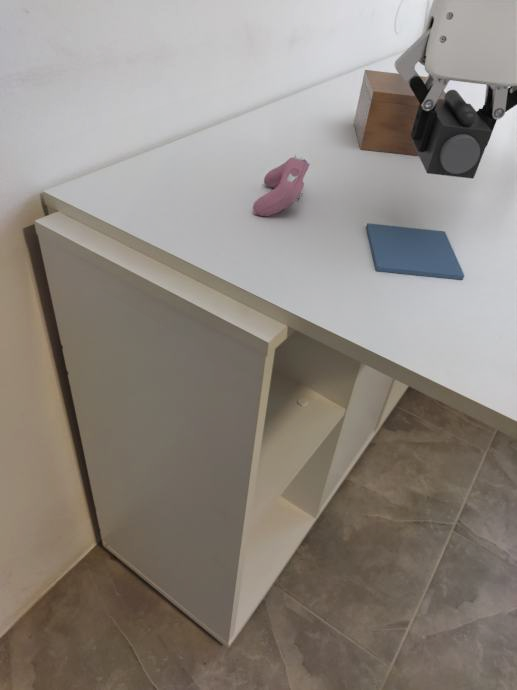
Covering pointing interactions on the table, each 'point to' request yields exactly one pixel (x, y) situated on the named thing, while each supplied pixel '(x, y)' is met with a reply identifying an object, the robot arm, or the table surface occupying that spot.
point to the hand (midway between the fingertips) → (445, 148)
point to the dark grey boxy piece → (455, 139)
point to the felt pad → (413, 251)
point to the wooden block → (386, 113)
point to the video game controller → (282, 187)
